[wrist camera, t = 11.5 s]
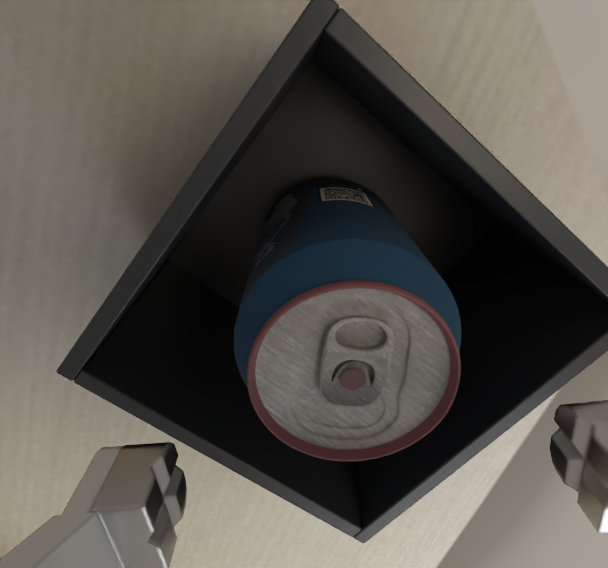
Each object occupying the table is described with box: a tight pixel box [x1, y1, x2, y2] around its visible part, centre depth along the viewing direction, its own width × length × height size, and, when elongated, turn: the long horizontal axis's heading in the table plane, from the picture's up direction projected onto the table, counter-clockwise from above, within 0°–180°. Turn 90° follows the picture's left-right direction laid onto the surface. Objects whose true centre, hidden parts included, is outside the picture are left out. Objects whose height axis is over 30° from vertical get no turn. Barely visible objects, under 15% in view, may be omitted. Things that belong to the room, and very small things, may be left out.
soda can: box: [234, 179, 461, 461], centre depth 17 cm, size 7×7×12 cm
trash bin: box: [57, 0, 608, 543], centre depth 18 cm, size 13×13×11 cm
